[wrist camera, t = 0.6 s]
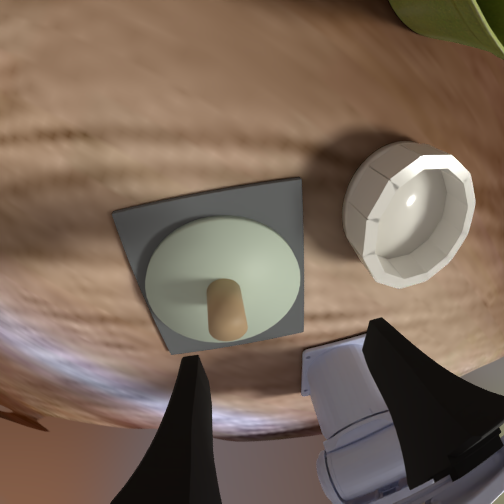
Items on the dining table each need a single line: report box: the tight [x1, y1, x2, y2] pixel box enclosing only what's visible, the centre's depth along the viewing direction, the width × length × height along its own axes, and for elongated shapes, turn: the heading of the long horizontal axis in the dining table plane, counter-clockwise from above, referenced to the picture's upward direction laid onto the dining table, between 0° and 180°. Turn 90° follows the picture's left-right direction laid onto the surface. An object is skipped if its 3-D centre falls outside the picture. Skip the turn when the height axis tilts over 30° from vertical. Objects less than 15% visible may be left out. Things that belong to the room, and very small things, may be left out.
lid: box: [145, 215, 300, 343], centre depth 19 cm, size 11×11×4 cm
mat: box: [112, 177, 304, 355], centre depth 21 cm, size 14×12×1 cm
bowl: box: [342, 141, 475, 289], centre depth 19 cm, size 10×10×4 cm
